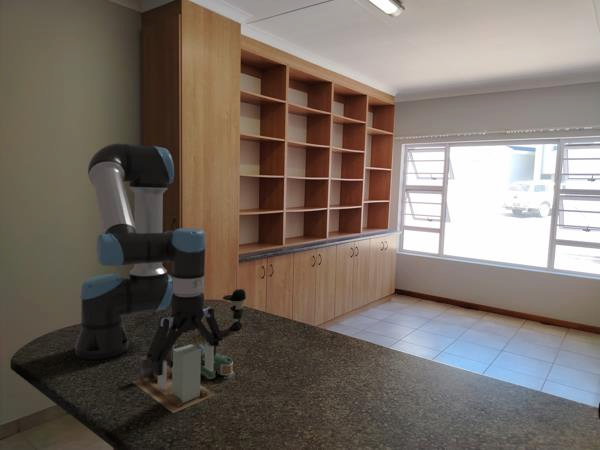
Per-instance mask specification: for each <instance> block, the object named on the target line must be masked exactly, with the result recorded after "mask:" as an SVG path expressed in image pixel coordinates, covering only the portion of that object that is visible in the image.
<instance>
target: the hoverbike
mask: <svg viewBox="0 0 600 450" xmlns="http://www.w3.org/2000/svg"><path fill="white" fill-rule="evenodd" d="M175 343H176V344H175V345H173V346H172V348H171V350H170V352H171V363H173V350H174V349H177V348H178V347H175V346H178V342H177V341H176V342H175ZM196 347H197V348H199V349H201V372H200V375H201V376H203V377H204V379H205V380H211V379H214V378H216V377H217V375H216V372H217V374H218V376H219V377H220V376H223V377H222V379H225V380H228V379H229V380H230V379H232V378H233V377H234V376H235V375H236V374H235V372H234V371H233V364H234V361H233V359H232V358H231V357H230V356H228V355H224V354H222V353H221V354H220V353H217V352H216V355H215V356H214V362H213V371H209V370H207V369H205V345H203V344H201V343H200V344H198V345H197V346H196Z"/></svg>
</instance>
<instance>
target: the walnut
mask: <svg viewBox="0 0 600 450" xmlns="http://www.w3.org/2000/svg"><path fill="white" fill-rule="evenodd" d="M170 374H171V370H170V367H169V366H168V365H167V379H168V378H169V376H170ZM153 375H154V378H155V379H156V380H157V381H158V375H156V374H155V369H154V372H153Z"/></svg>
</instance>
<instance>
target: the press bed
mask: <svg viewBox="0 0 600 450" xmlns="http://www.w3.org/2000/svg"><path fill="white" fill-rule="evenodd" d="M146 356H147V355H144V356H141V357H139V370H138V371H139V373H138V374H139V379H137V380H134V381H132V383H133V384H134V385H135V386H136V387H138V388H139V389H141V390H142V391H143V392H144V393H146V394H147V395H148V396H150V397H151V398H152V399H153V400H155V401H156V402H158V403H159V404H160V405H161V406H163V407H165V409H167V410H168V411H170V412H171V413H172V414H175V413H177V412H179V411H181V410H184V409H186V408H188V407H190V406H193V405H195V404H199V403H200V402H203V401H204V400H207V399H210V398H211V397H213V396H217V395H216V393H214V392H212V391H211V390H209V389H208V388H206V387H205V386H202V385H201V384H200V396H199V397H196V398H194V399H192V400H189V401H187V402H185V403H183V402H182V401H180V400H179V399H177V398H176V397H175V396H173V395H172V365H171V364H172V361H171V352H170V351H169V353H168V354H167V356H166V358H165V359H164V360H165V361H167V365H168V366H169V367H170V370H171V374H170V376H169V378H168V379H167V388H166V389H162V388H161V387H159V386H158V381H157V380H156V379H155V378H154V375H153V372H154V369H155V362H151V361H150V360H148V359H147V358H146Z"/></svg>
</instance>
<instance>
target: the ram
mask: <svg viewBox="0 0 600 450" xmlns="http://www.w3.org/2000/svg"><path fill="white" fill-rule="evenodd" d="M197 347H198V346H195V345H193V344H190V343H189V344H187V345H184V346H180V347H176V348H177V349H174V350H173V362H172V366H171V368H172V395H173V396H175V397H176V398H177V399H179V400H180V401H182V402H183V403H185V402H187V401H189V400H192V399H194V398H196V397H199V396H200V385H201V374H200V372H201V349H199V348H197Z"/></svg>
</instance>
